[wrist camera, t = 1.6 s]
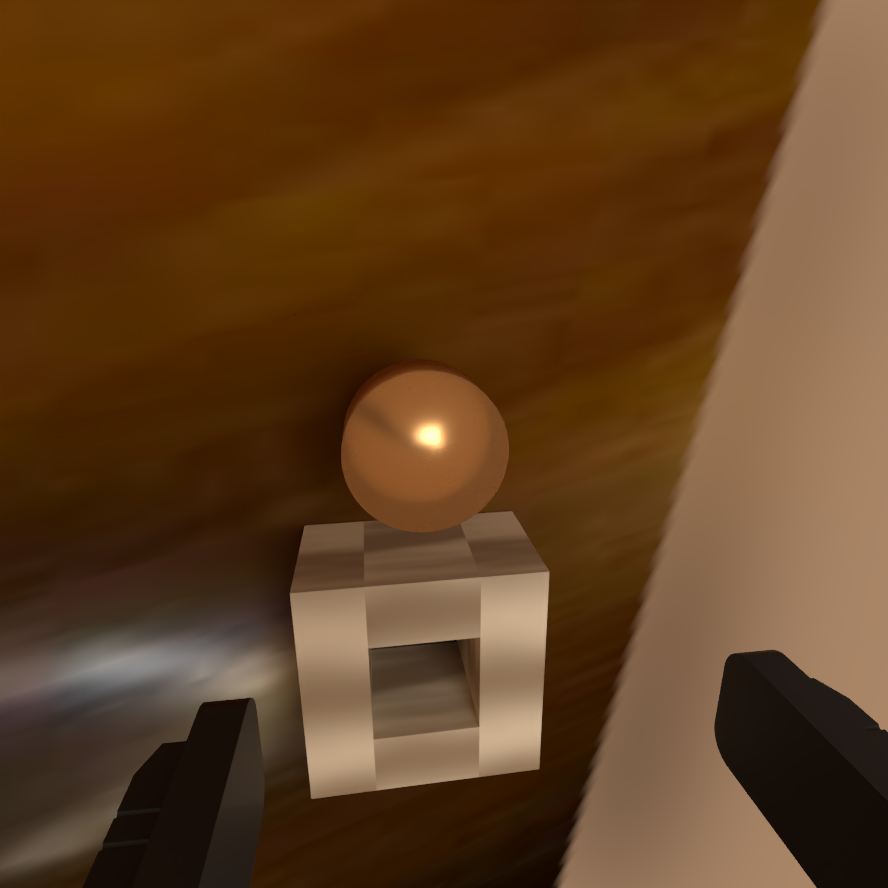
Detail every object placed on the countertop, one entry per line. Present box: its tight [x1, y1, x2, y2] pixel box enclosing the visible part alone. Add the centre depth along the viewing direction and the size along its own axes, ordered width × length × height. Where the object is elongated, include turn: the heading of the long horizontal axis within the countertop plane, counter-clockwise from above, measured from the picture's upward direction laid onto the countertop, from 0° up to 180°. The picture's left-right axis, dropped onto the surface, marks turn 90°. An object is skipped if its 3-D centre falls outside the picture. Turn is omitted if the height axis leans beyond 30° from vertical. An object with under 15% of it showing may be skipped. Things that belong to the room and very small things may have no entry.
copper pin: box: [341, 359, 509, 532], centre depth 26 cm, size 6×6×10 cm
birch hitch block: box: [290, 511, 549, 799], centre depth 31 cm, size 12×12×7 cm
